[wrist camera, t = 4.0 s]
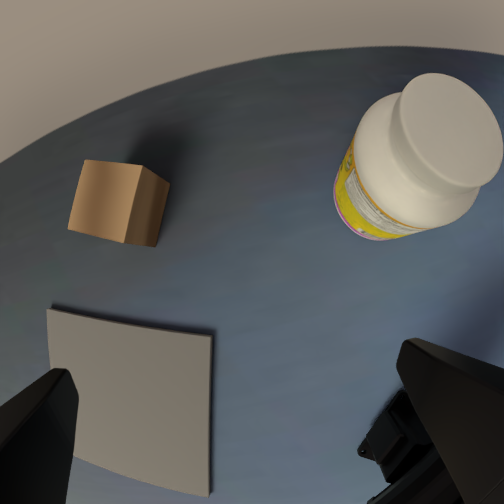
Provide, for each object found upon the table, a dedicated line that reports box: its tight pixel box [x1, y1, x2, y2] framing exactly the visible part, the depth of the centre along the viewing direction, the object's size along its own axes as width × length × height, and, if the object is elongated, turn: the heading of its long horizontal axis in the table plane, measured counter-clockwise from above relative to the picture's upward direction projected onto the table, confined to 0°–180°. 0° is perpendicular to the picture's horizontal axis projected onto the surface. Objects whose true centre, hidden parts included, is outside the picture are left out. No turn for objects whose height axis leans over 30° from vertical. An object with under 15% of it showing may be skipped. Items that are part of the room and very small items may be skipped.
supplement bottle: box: [334, 73, 503, 241], centre depth 15 cm, size 7×7×13 cm
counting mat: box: [47, 308, 213, 498], centre depth 23 cm, size 16×16×1 cm
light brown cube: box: [68, 160, 170, 247], centre depth 21 cm, size 5×5×5 cm
